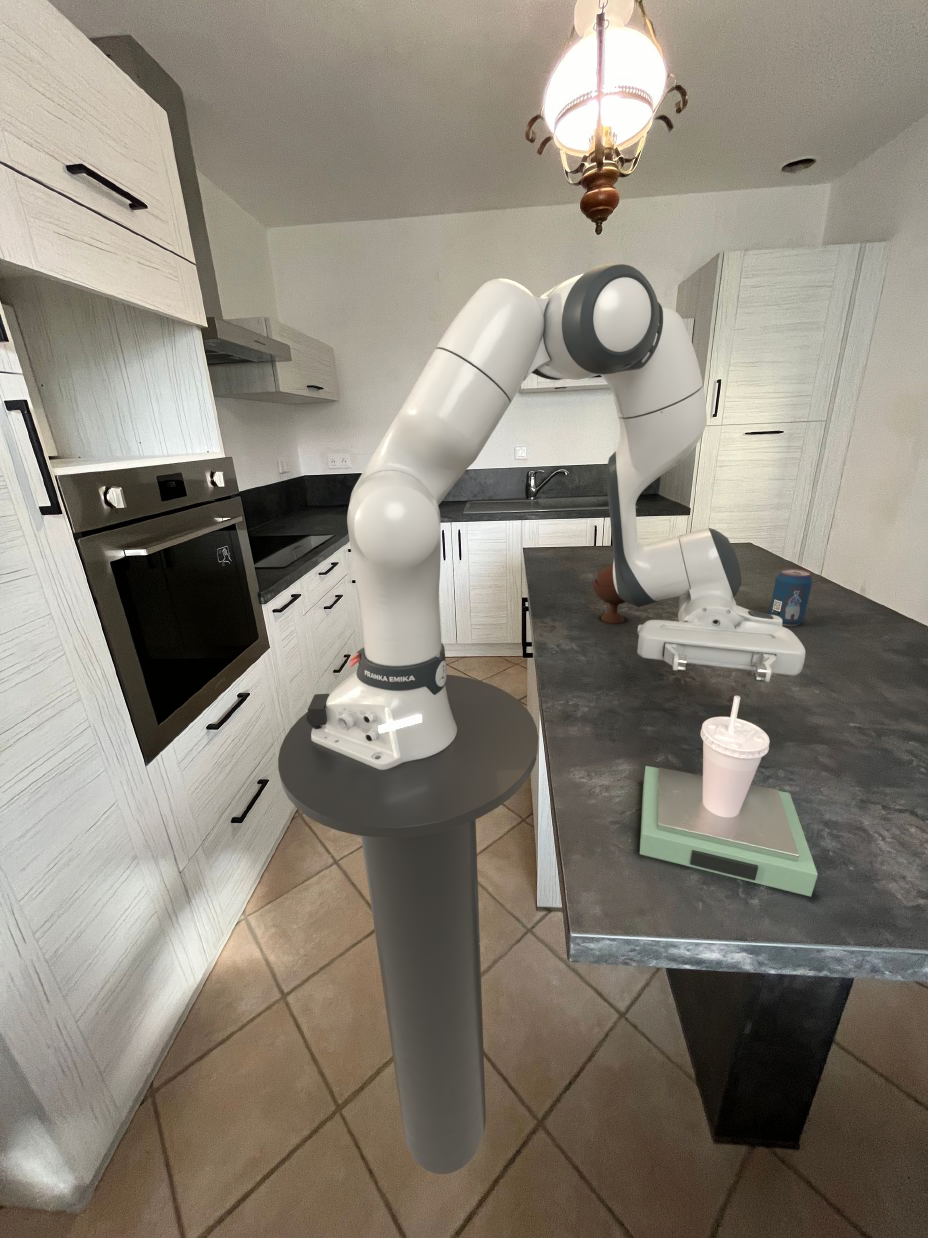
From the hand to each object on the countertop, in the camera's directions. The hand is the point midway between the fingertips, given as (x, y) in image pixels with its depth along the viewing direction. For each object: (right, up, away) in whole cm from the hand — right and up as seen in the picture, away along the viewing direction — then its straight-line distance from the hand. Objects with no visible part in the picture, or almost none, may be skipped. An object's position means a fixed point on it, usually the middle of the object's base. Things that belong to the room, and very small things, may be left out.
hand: (720, 671), depth 61 cm
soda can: (+43, +6, +53) cm, 68 cm away
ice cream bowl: (+4, +6, +58) cm, 59 cm away
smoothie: (-3, -15, -6) cm, 16 cm away
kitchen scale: (-3, -18, -5) cm, 19 cm away
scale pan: (-3, -15, -6) cm, 17 cm away
